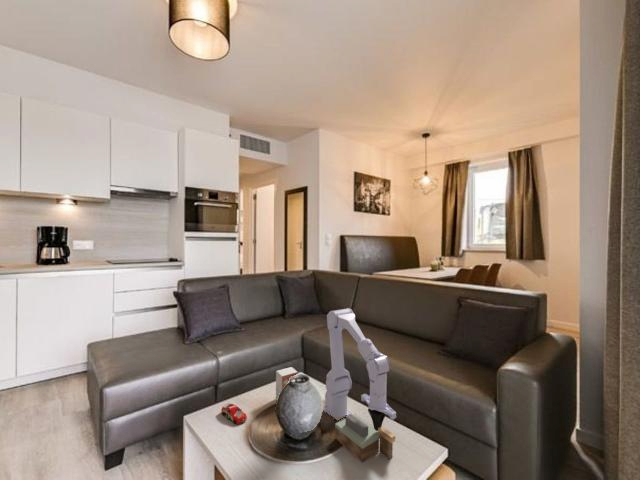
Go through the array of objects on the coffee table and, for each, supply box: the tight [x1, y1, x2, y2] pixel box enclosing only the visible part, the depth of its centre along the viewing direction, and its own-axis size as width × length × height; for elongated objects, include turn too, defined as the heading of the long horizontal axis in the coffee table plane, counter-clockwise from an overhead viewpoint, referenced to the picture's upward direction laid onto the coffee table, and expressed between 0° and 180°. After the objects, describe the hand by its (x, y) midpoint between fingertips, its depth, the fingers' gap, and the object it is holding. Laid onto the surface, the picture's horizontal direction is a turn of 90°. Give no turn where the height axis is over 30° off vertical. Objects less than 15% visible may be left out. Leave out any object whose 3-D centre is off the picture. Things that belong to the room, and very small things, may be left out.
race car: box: [220, 403, 248, 425], centre depth 124 cm, size 13×5×4 cm, turn 48°
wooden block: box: [378, 426, 396, 443], centre depth 103 cm, size 6×2×2 cm, turn 37°
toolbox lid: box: [334, 413, 380, 449], centre depth 108 cm, size 14×10×5 cm
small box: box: [275, 366, 299, 400], centre depth 137 cm, size 8×6×13 cm
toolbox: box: [334, 427, 394, 463], centre depth 107 cm, size 18×10×6 cm, turn 37°
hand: (377, 429), depth 106 cm, fingers closed
